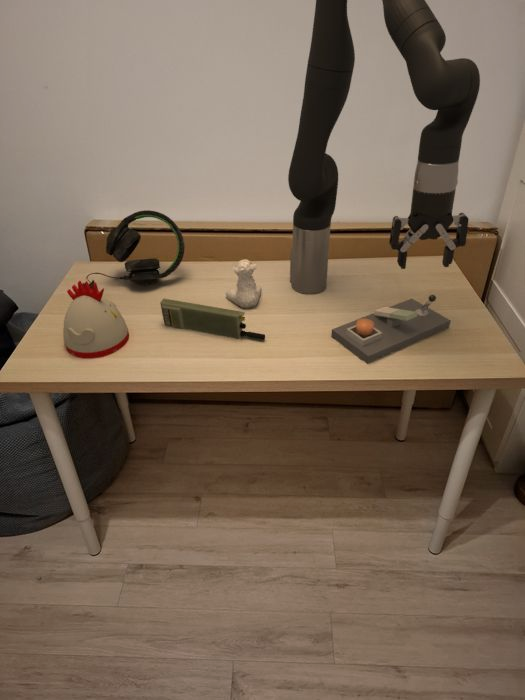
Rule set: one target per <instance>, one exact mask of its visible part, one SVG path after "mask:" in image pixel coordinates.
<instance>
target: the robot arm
mask: <svg viewBox="0 0 525 700" xmlns="http://www.w3.org/2000/svg"><path fill="white" fill-rule="evenodd" d="M381 2H382V7H383V8H382V9H383V18H384V24H385V27H386V29H387V32H388V34H389V37H390V38H391V40H392V42H393V44H394V45H395V47H396V48H397V50H398V51H399V53H400V55H401V56H402V58H403V59H404V61H405V63H406V68H407V72H408V75H409V80H410V82H411V86H412V90H413V92H414V93H413V94H414V95H415V97H416V99H417V101H418V102H419V103H420V104H421V105H422V106H423V107H424V108H426V109H428V110H430V111H437V112H436V115H435V118H434V119H433V121H431V122H430V123H428V124H427V125H426V126H424V127H423V129H422V131H421V133H420V136H419V137H420V139H419V146H418V155H417V162H416V166H415V170H414V178H413V187H412V193H411V195H412V196H411V205H410V213H409V215H408V217H399V216H398V215H395V216H393V217H392V223H391V228H390V229H391V230H390V235H389V242H388V244H389V246H390V248H391V250H397V258H396V259H397V265H398V266H399V267H400V268H401V270H405V269H406V265H407V260H408V251H407V250H408V249H409V248H410V247H411V246H412V245H414V244H415V243H416V242H417V241H418V240H420V241H427V240H434V241H435V240H438V238H441V239H442V240H443V242H444V243H445V246H444V247H443V248H444V249H443V254H442V255H443V256H442V266H443V267H444V268H449V267H450V265H452V263H453V260H454V255H455V250H456V249H457V248H461V247H465V246H466V243H467V238H468V237H467V235H468V226H469V220H470V219H469V217H468V216H467V215H466V214H465V213H464V212H460V213H458V215H453V208H454V202H455V196H456V190H457V189H456V188H457V186H458V182H459V181H458V177H459V164H460V163H459V162H460V155H461V149H462V144H463V143H462V142H463V135H464V132H465V130H466V127H467V126H468V123H469V121H470V118H471V116H472V112H473V111H474V109H475V104H476V102H477V99H478V96H479V93H480V88H481V87H480V86H481V76H480V75H481V74H480V71H479V68H478V66H477V63H476V62H475V61H473V60H472V59H470V58H465V57H462V58H454V59H447V60H445V59H444V57H443V55H442V54H441V52H442V50H443V49H444V48H445V45H446V40H447V38H446V36H447V35H446V34H445V31H444V29H443V27H442V25H441V23H440V21H438V18H437V17H436V15H435V14H434V13H433V11H432V9H431V8H430V5H429V4H428V2H427V1H426V0H382V1H381ZM313 16H314V17H313V25H312V32H311V33H312V34H311V41H310V49H309V54H308V59H307V66H306V71H305V79H304V87H303V88H304V89H303V98H302V102H301V103H302V104H301V110H300V116H299V122H298V123H299V124H298V129H297V135H296V139H295V145H294V149H293V151H292V155H291V161H290V164H289V169H288V175H287V176H288V177H287V181H288V188H289V190H290V192H291V194H292V196H293V197H294V198H295V199H296V200H298V201H299V204H298V206H297V207H296V208H295V210H294V213H293V217H292V218H293V219H292V248H291V249H290V254H289V255H290V262H289V263H290V264H289V265H290V266H289V268H290V269H289V282H290V283H291V287H292V289H293V290H294V291H296V292H298V293H302V294H307V295H308V294H309V295H310V294H311V295H314V294H318V293H321V292H323V291H324V290H325V289H327V284H328V283H327V282H328V280H327V279H328V267H329V265H328V264H329V254H330V253H329V252H330V240H331V227H332V226H331V225H332V218H333V215H334V213H335V210H336V205H337V195H338V187H339V169H338V165H337V163H336V161H335V159H334V158H333V157H332V156H331V155H329V154H328V153H327V147H328V142H329V140H330V136H331V134H332V132H333V130H334V127H335V125H336V124H337V122H338V120H339V117H340V115H341V113H342V111H343V109H344V106H345V104H346V102H347V99H348V96H349V92H350V89H351V83H352V78H353V74H354V68H355V63H356V62H355V60H356V57H355V56H356V53H355V46H354V42H353V37H352V36H353V35H352V32H351V28H350V23H349V17H348V0H315V8H314V15H313ZM453 223H454V225H455V226H456V233H455V234H456V235H455V238H453V239H452V238H451V236H450V235H449V233H448V232H447V230H448V229H449V227H451V226H452V225H453ZM406 225H408V227H409V230H407V232H405V234H404V237H403V238H402V239H400V234H401V231H402V230H403V229H404V228H405V226H406ZM399 239H400V241H399Z"/></svg>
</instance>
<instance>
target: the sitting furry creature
mask: <svg viewBox="0 0 525 700" xmlns="http://www.w3.org/2000/svg"><path fill="white" fill-rule="evenodd" d="M257 267H258V265H257V263H253V262H252V261H251V260H248V259H245V258H244V259H241V260H239V261H238V262H237V263H236V265H235V266H234V267H232V270H233V271H234V274H236V276H237V278H238V279H237V281H236V289H232V288H231V289H228V290H226V291H225V296H226V298H227V300H228V301H231V302H232V303H233V304H236V305H237V306H239V307H241V308H243V309H249V308H253V307H255V306H257V304H258V302H259V300H260V297H261V294H262V287H261V286H257V283H256V280H255V279H254V275H253V273H254V272H255V271H256V269H257Z"/></svg>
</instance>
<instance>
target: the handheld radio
mask: <svg viewBox="0 0 525 700" xmlns="http://www.w3.org/2000/svg"><path fill="white" fill-rule="evenodd" d="M159 304H160V309H161V315H162V319H163V324H164V326H167V327H172V328H175V329H176V328H177V329H182V330H187V331H193V332H199V333H204V334H210V335H215V336H220V337H226V338H231V339H237V340H239V339H241V338H242V337H247V338H252V339H257V340H261V341H264V340H265V339H266V335H265V334H264V333H258V332H253V331H245V330H244V329H246V328H247V324H246V323H243V322H245V320H246V319H245V318H246V317H245V316H244V315H245V314H246V312H244V311H240V310H235V309H231V308H230V309H229V308H224V307H223V308H222V307H217V306H211V305H206V304H205V305H204V304H199V303H193V302H187V301H180V300H175V299H170V298H165V297H164V298H162V300H161V301H160V303H159Z"/></svg>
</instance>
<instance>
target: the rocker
mask: <svg viewBox="0 0 525 700" xmlns="http://www.w3.org/2000/svg"><path fill="white" fill-rule="evenodd" d="M389 307H390V306H388V307H387V306H382V307H380V308H377V309H374V310H373V313H374V315H378V316H383V317H389V318H394V319H400V320H405V321H407V320H410V319H412V318H414V317H417V312H414V311H408V310H401V309H395V308H389Z"/></svg>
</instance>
